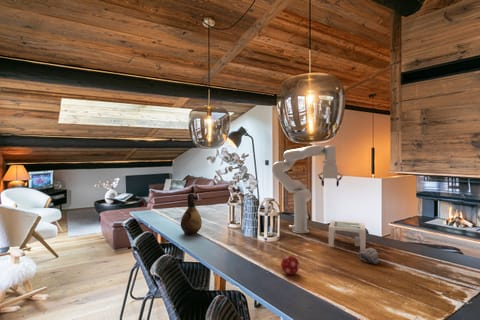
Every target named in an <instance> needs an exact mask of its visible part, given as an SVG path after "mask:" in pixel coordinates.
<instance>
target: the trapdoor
mask: <svg viewBox="0 0 480 320" xmlns="http://www.w3.org/2000/svg"><path fill="white" fill-rule="evenodd" d="M335 227H346V228H357V229H359V226H355V225H347V224H343V223H339V222H336V224H335ZM348 232H350V233H354V234H357V235H359V232H351V231H348Z"/></svg>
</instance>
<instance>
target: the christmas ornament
mask: <svg viewBox="0 0 480 320" xmlns="http://www.w3.org/2000/svg"><path fill="white" fill-rule="evenodd" d="M280 263H281V270H282V271H283V272H284V273H285V274H287V275H292V276H293V275H296V273H297V272H298V271H299V269H300V262H299V260H298V258H296V257H295V256H294V255H292V253H291V252H290V253H288V255H286V256H285V257H283V258H282V260H281V262H280Z"/></svg>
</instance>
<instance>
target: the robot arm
mask: <svg viewBox="0 0 480 320" xmlns="http://www.w3.org/2000/svg"><path fill="white" fill-rule="evenodd" d="M282 156H283V159H284V160H283V161H281V160H280V161H276V162H274V163H273V164H272V169H271V170H272V174H273V176H274V177H275V178H276V180H277V181H278V182H279V183H280V184H281V185H282V186H283V187H284V188H285V190H286V191H287V192H288V193H293V196H292V197H293V206H294V207H293V211H294V213H293V214H294V217H293V219H294V220H293V221H294V222H293V225H291V224H288V228H289V229H291V231H292V232H293V233H295V234H296V233H297V234H308V233H309V232H310V230H309V229H308V207H307V202H309V201H310V200H311V199H312V193H311V191H310V190H309V189H308V188H307V187H306V186H305V185H304V184H303V182H301V181H300V180H299V179H298V180H297V179H292V178H291V177H290V175H288V174H287V173H286V172H288V171H289V170H290V169H291V168H292V167H293V165H294V164H296V162H297V160H304V159H306V158H308V157H316V156H319V157H320V156H321V157H323V156H324V160H322V163H323V166H322V172H320V173H317V177H318V179H320V181H321V186H322V187H324V186H325V179H334V180H336V187H337V188H338V187H339V184H340V180H342V178H343V176H344V175H343V174H342V173H340V172H338V165H337V147H336V146H335V145H321V144H319V145H318V144H316V145H315V144H314V145H309V146H305V147H304V146H303V147H299V148H295V149H288V150H285V151H284V152H283V154H282ZM338 176H339V177H338Z"/></svg>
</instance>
